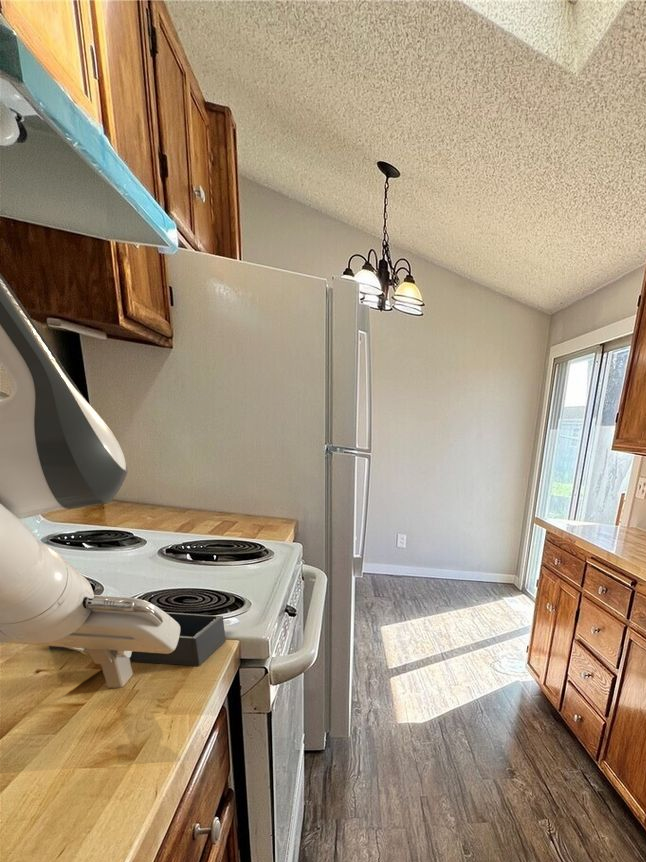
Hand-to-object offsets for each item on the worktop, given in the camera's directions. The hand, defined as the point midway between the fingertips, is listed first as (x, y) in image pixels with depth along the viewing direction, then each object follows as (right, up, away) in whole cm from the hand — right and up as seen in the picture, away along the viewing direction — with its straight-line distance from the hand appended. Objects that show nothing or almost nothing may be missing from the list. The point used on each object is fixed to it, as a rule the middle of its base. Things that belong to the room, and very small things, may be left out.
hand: (110, 651), depth 68 cm
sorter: (-4, +1, +12) cm, 13 cm away
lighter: (0, -4, +1) cm, 5 cm away
